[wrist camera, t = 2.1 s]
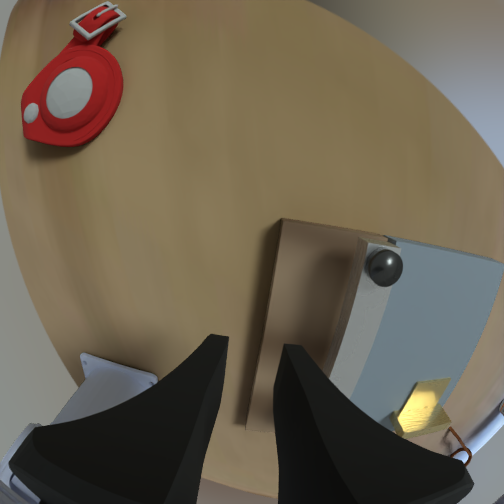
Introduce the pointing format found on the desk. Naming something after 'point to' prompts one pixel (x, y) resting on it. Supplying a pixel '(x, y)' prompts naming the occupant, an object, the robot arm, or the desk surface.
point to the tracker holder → (76, 85)
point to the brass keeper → (422, 410)
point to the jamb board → (301, 303)
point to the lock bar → (362, 311)
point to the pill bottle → (502, 408)
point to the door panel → (426, 325)
